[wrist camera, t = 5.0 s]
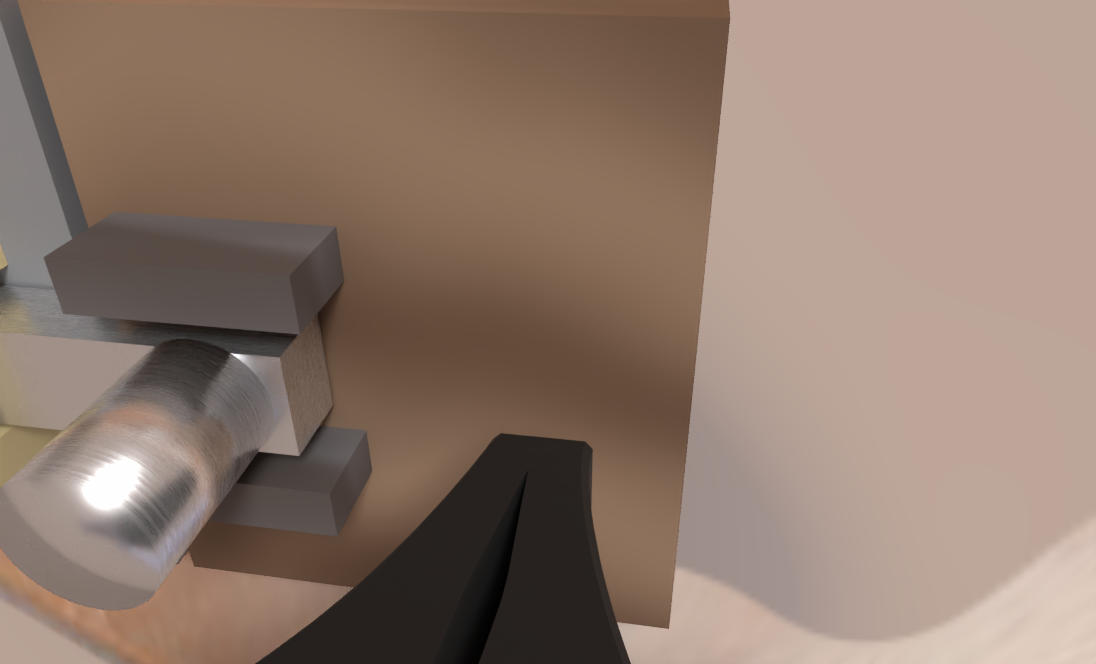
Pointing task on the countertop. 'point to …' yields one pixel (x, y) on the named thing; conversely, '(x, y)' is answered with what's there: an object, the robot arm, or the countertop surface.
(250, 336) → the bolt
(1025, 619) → the countertop surface
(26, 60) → the jamb keeper
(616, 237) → the door panel
